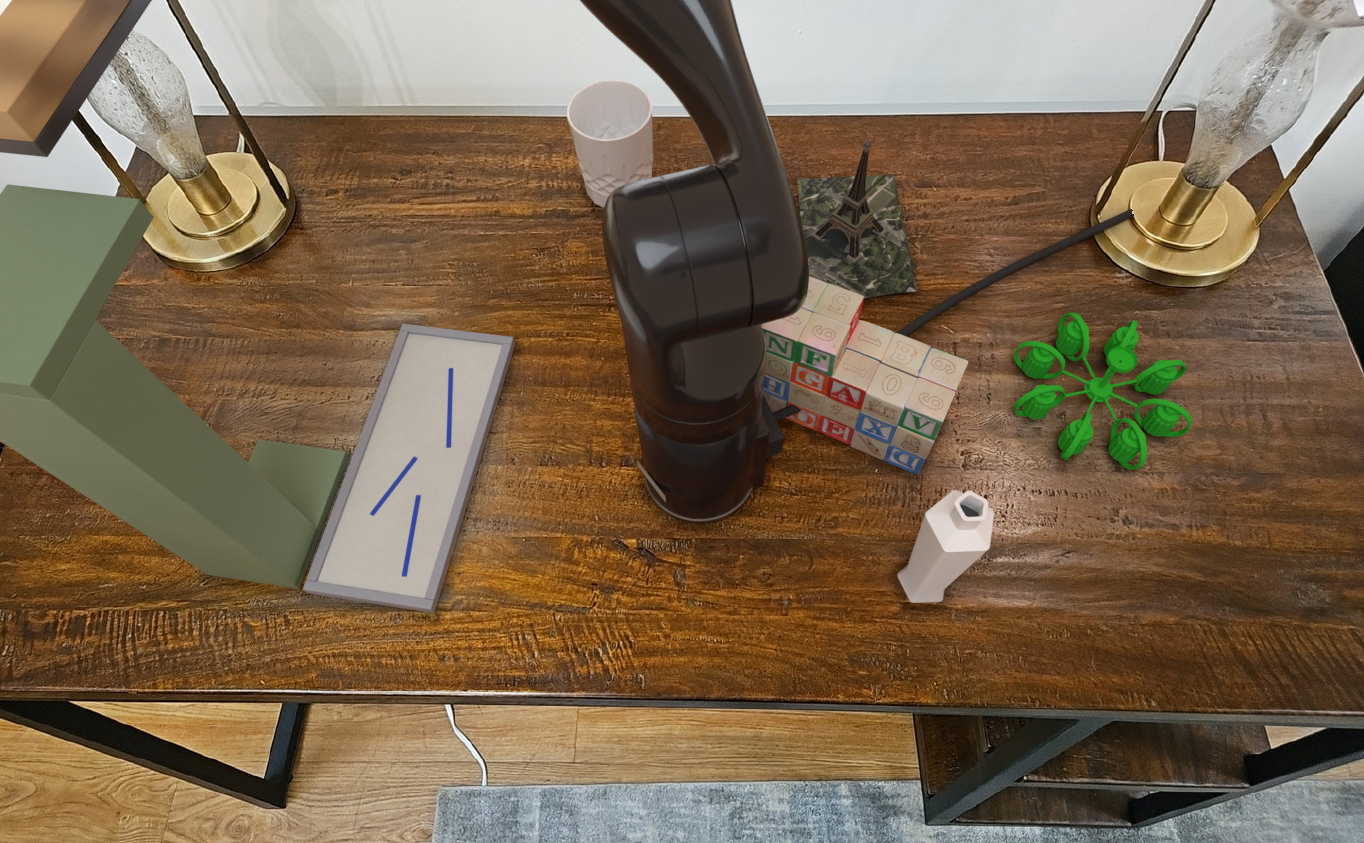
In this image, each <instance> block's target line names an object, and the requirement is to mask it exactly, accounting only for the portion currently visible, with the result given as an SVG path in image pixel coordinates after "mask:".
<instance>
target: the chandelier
mask: <svg viewBox="0 0 1364 843" xmlns="http://www.w3.org/2000/svg"><path fill="white" fill-rule="evenodd" d="M1069 317H1071V318H1072V319H1074V320H1072V321H1070V322H1069V323H1068V324H1067V325H1065V323H1066V321H1067V319H1068V318H1069ZM1138 324H1139V322H1138V321H1136V320H1133V319H1132V320H1129V323H1128V324H1127V325H1126V326H1121V327H1119V328H1118V329H1117V330H1115V331H1114V332H1113V333H1112V334H1111V335H1110V337H1109V338H1108V340H1107V341H1106V343H1105V344H1104V347H1103V353H1104V355H1105V361H1106V363H1105V364H1106V365H1107V366H1108V367H1107V370H1106V371H1105V373H1104V376H1103V377H1096V375H1095V373H1094V371H1093V369H1092V368H1091V365H1090V363H1089V361H1088V359H1087V356H1088V353H1089V350H1090V335H1089V334H1090V328H1089V326H1088V325H1087V324H1086V322H1085V320H1084V319H1083V317H1082V316H1081V315H1079V314H1078V313H1076V312H1067V313H1064V314H1063V315H1062V316H1060V318H1059V321H1058V325H1057V339H1056V341H1055V347H1056V348H1057V349H1056V348H1055V347H1054V346H1052V345H1050V344H1048V343H1045V342H1043V341H1038V340H1026V341H1024V342H1021V343H1019V344H1018V346H1017V347H1016V349H1015V350H1014V353H1013V359H1014V362H1015V364H1016V366H1017V367H1018V368H1019V369H1020V370H1022V371H1023V373H1024V374H1025V375H1026V376H1027V377H1029V378H1030V379H1036V380H1037V379H1042V380H1053V379H1056V378H1058V377H1060V376H1061V375H1062V374H1064V375H1065V376H1068V377H1070V378H1072V379H1075V380H1076V381H1079V382H1081V383H1083V384H1085V385H1084V390H1080V391H1075V392H1070V393H1069V392H1068V393H1066V391H1065V389H1064V387H1063V386H1062V385H1058V384H1051V385H1047V384H1038V385H1036V386H1034V387H1033V388H1032V389H1031V390H1030V391H1029V392H1027V393H1025V394H1024V395H1022V396H1021V397H1019V398H1018V399H1017V400H1016V401H1015V402H1014V404H1013V410H1014V413H1015V415H1016V416H1018V417H1022V418H1023V417H1024V418H1026V417H1027V418H1028V419H1030V420H1041V419H1043V418H1046V416H1048V414H1049V412H1050V411H1051V410H1052V409H1054V408H1056V407H1058V406H1059V405H1060V404H1061V403H1062V402H1063V401H1064V400H1065V399H1066V398H1069V397H1075V396H1079V395H1083V394H1086V395H1087V397H1088V398H1089V399H1091V402H1090V403H1089V405H1088V408H1087V410H1086V412H1084V414H1083V415H1082V417H1081V418H1080V419H1075V420H1073V421H1072V422H1070V423H1068V424H1067V426H1066V427H1064V429H1063V430H1062V432H1060V434H1059V435H1058V436H1057V438H1058V439H1057V445H1058V448H1059V449H1060V450H1061V453H1060V456H1059V458H1060V459H1062V460H1063V461H1068V460H1069V459H1070V458H1071V456H1074V455H1078V454H1081V453H1082V452H1083V450H1084V449H1085V448H1086V447H1087V446H1088V445H1089V443H1091V441H1092V438H1093V435H1094V429H1093V428H1094V427H1093V426H1092V425H1091V421H1092V419H1093V414H1091V411H1092V409H1093V407H1094V405H1095V403H1096V402H1098V403H1105V405H1106V408H1107V410H1108V411H1109V413H1110V415H1111V416H1112V419H1113V421H1114V422H1113V423H1112V424H1111V427H1110V431H1109V439H1110V442H1109V445H1108V453H1109V455H1110V457H1111V458H1113V459H1114V460H1115V461H1117V462H1118V463H1119V464H1120V465H1121V466H1122V468H1124V469H1127V470H1130V471H1133V470H1139V469H1140V468H1142V467H1144V465H1145V464H1146V461H1147V458H1148V446H1147V436H1146V434H1145V433H1144V431H1145V432H1146V433H1147V434H1149V435H1151V436H1153V437H1166V438H1178V437H1182V436H1184V435H1186V434H1187V433H1188V432H1189V431H1190V430H1191V427H1192V424H1193V419H1192V417H1191V414H1190V412H1188V411H1187V409H1185V408H1183V406H1181V405H1179V404H1177V403H1175V402H1173V401H1170V400H1167V399H1162V398H1148V399H1145V400H1142V401H1141V402H1139V403H1138V404H1137V403H1135V402H1133V401H1132V400H1128V399H1126V398H1124V397H1122V396H1120V395H1118V394H1116V393H1113V388H1117V387H1121V386H1127V385H1131V384H1132V387H1133V388H1134V390H1135V391H1136V392H1139V393H1147V394H1149V395H1154V396H1156V395H1160V394H1162V393H1164V392H1165V391H1166V389H1168V387H1169V386H1171V384H1172V383H1174V382H1175V381H1177V380H1179V379H1180V378H1181V377H1183V375H1184V374H1185V373H1186V371H1187V366H1186V364H1185V362H1184V360H1181V359H1171V360H1167V359H1158V360H1156V362H1154V363H1151V364H1150V365H1149V367H1148V368H1146V369H1144V370H1143V371H1141V372H1140V373H1139V374H1138V375H1137V376H1135V378H1134V379H1131V380H1127V381H1123V382H1117V383H1113V384H1112V383H1111V382H1110V380H1111V379H1112V378H1113V376H1114V375H1115V374H1116V373H1120V374H1128V373H1130V372H1132V371H1133V370H1134V369H1135V368H1136V366H1137V365H1138V357H1137V354H1136V353H1135V352H1134V350H1135V349H1136V347H1137V346H1138V342H1139V339H1140V337H1139V333H1138V331H1136V330H1137V328H1138ZM1027 347H1033V348H1031V349H1030V350H1029V352H1028V353H1027V355H1026V356H1025V359H1024V360H1023V361H1022V360H1021V358H1020V356H1019V351H1020V350H1021V349H1023V348H1027ZM1080 351H1081V353H1080V354H1079V356H1078V357H1076V356H1074V355H1076V354H1078V353H1079V352H1080ZM1064 356H1065V358H1067V359H1068V360H1070V361H1072V362H1079V361H1083V362H1084V364H1085V366H1086V368H1087V370H1088V373H1089V374H1090V376H1091V379H1090V380H1085V379H1084V378H1082V377H1079V376H1077V375H1076V374H1073V373H1071V372H1068V371H1067V370H1064V369H1066V359H1065V358H1064ZM1055 358H1056V359H1057V361H1058V362H1059V364H1060V370H1059V371H1056V372H1053V373H1048V372H1049V370H1051V367H1052V366H1053V363H1054V362H1055ZM1177 367H1180V368H1179V369H1177ZM1056 392H1060V394H1059V395H1058V396H1057V395H1056ZM1112 397H1113V398H1115V399H1117V400H1120V401H1121V402H1124V403H1126V404H1128V405H1130V406H1132V407H1135V410H1134V414H1133V415H1134V419H1135V420H1133V419H1131V418H1129V417H1123V418H1118V417H1117V416H1116V414H1115V412H1114V410H1113V408H1112V405H1111V404H1110V403H1109V400H1110V399H1111V398H1112ZM1151 405H1153V407H1152V408H1151V409H1150V410H1149V411H1148V412H1147V414H1145V416H1144V418H1142V416H1141V414H1140V409H1141V408H1143V407H1146V406H1151ZM1021 406H1022V408H1021V409H1022V410H1019V409H1020V407H1021ZM1181 416H1182V417H1183V418H1184V420H1185V421H1186V424H1187V426H1186V427H1185V428H1182V429H1181V430H1174V431H1171V430H1173V429H1174V428H1175V426H1177V424H1178V422H1179V420H1180V418H1181ZM1136 422H1137V423H1136ZM1121 423H1125V424H1127V425H1128V426H1129V427H1126V428H1125V429H1122V430H1120V432H1118V428H1119V426H1120V424H1121ZM1142 428H1143V429H1144V431H1143V430H1142ZM1138 455H1139V459H1138V462H1137V464H1136V465H1132V464H1130V462H1131V461H1132V460H1133V459H1135V458H1136V457H1137V456H1138Z"/></svg>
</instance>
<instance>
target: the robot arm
mask: <svg viewBox="0 0 1364 843" xmlns="http://www.w3.org/2000/svg"><path fill="white" fill-rule="evenodd" d="M579 2H580V3H581V4H582V6H584V8H586V10H587V11H588V12H589V13H590V14H591V15H593V16H594V18H595V19H596V20H598V22H599V23H601V25H603V27H604V28H606V30H608V31H609V32H610V33H611V34H612V35H613V36H614V37H615V38H616V39H618V40H619V41H620V42H621V43H622V44H623V45H624V46H625V47H627V48H628V49H629V51H631V52H632V53H633V54H634V55H636V56H637V57H638V58H639V59H640V61H642V62H643V63H644V64H645V65H646V66H647V67H648V68H649V69H651V71H652V72H653V73H654V74H655V75H657V77H659V79H660V80H662V82H663V83H664V84H665V85H666V86H667V88H668V89H669V90H670V91H671V92H672V94H673V95H674V96H675V98H677V99H678V102H679V103H680V104H681V105H682V107H683V109H684V110H685V111H686V112H687V114H688V116H689V117H690V119H691V120H692V123H693V124H694V125H695V127H696V130H697V131H698V133H699V135H700V137H701V138H702V141H703V143H704V144H705V146H706V149H707V151H708V153H709V155H710V158H711V160H712V163H713V164H708V165H701V166H699V167H694V168H689V169H685V170H681V171H676V172H671V173H666V174H661V175H659V176H652V178H648V179H644V180H639V181H635V182H631V183H627V184H624V185H621V186H619V187H617V188H615V189H614V190H613V191H612V192H611V193H610V195H609V197H608V198H607V201H606V203H605V206H604V208H603V211H602V219H601V232H602V233H601V234H602V245H603V246H602V247H603V253H604V259H605V262H606V267H607V272H608V276H609V280H610V284H611V288H612V292H613V297H614V301H615V303H616V304H615V305H616V308H617V311H618V315H619V319H620V323H621V329H622V334H623V341H624V346H625V354H626V362H627V371H628V377H629V381H630V389H631V395H632V402H633V408H634V413H635V420H636V426H637V432H638V439H639V440H638V441H639V446H640V453H641V458H642V460H641V461H642V464H641V463H640V462H639V460H636V463H637V468H638V469H639V470H640V471H641V473H642V474H643V480H644V484H645V485H644V486H645V487H646V491H647V494H648V495H649V497H650V499H651V500H652V501H653V503H654V504H655V505H656V506H657V507H658V509H660V510H661V511H662V512H663V513H664V514H666V515H667V516H669V517H671V518H673V519H675V520H677V521H680V522H683V523H687V524H695V525H697V524H698V525H707V524H712V523H716V522H720V521H722V520H725V519H727V518H728V517H731V516H732V515H734V514H735V513H736V512H737V511H739V510H740V509H741V508H742V507H743V506H744V505H745V504H746V503H747V501H748V499H749V498H750V496H751V494H752V493H753V491H754V490H756V489H758V488H761V487H763V486H764V484H765V477H766V476H765V475H766V469H767V467H766V466H767V460H768V458H770V457H772V456H775V455H779V454H781V453H783V447H784V441H785V436H784V434H783V432H782V430H781V427H780V426H779V424H778V422H779V421H781V420H784V419H787V418H786V417H788V416H791V415H793V414H795V413H798V412H800V411H801V409H800V408H798V407H797V406H795V405H790V406H787V407H785V408H783V409H780V410H778V411H775V412H773V413H772V411H771V409H770V407H769V405H768V403H767V401H766V399H765V397H764V395H763V386H764V376H765V367H766V355H767V351H766V340H765V336H764V333H763V330H762V328H761V326H760V324H764V323H768V322H772V321H775V320H779V319H783V318H786V317H789V316H791V315H793V314H795V313H796V312H798V311H799V310H800V309H801V307H802V306H803V304H804V302H805V300H806V297H807V293H808V285H809V266H808V256H807V249H806V243H805V238H804V233H803V228H802V222H801V216H800V212H799V209H798V206H797V202H796V200H795V196H794V194H793V189H792V186H791V184H790V181H789V177H788V175H787V172H786V168H785V166H784V163H783V158H782V157H781V153H780V151H779V148H778V144H777V141H776V138H775V136H774V133H773V130H772V127H771V124H770V122H769V118H768V116H767V112H766V110H765V107H764V104H763V101H762V98H761V95H760V92H759V90H758V86H757V83H756V80H755V77H754V74H753V71H752V68H751V65H750V62H749V59H748V56H747V52H746V49H745V46H744V42H743V39H742V36H741V33H740V28H739V25H738V21H737V17H736V13H735V9H734V5H733V2H732V0H579ZM1132 211H1133V210H1132V209H1131V208H1130V209H1127V210H1125V211H1123V212H1121V213H1119V214H1117V215H1115V216H1113V217H1110V218H1108V219H1106V220H1104V221H1101V222H1099V223H1097V224H1095V225H1093V226H1090V227H1088V228H1086V229H1084V230H1082V231H1079V232H1077V233H1075V234H1073V235H1071V236H1069V237H1066V238H1064V239H1062V240H1060V241H1057V242H1055V243H1053V244H1050V245H1049V246H1046V247H1044V248H1042V249H1040V250H1037V251H1035V252H1034V253H1031V254H1029V255H1026V256H1025V257H1023V258H1021V259H1018V260H1017V261H1015V262H1012V263H1011V264H1009V265H1007V266H1005V267H1003V268H1001V269H999V270H997V271H995V272H993V273H991V274H989V275H988V276H985V277H984V278H982V279H980V280H978V281H976V282H974V283H972V284H971V285H969V286H967V287H966V288H964V289H962V290H961V291H959V292H956V293H955V294H953V295H952V296H950V297H949V298H947V299H945V300H944V301H942V302H940V303H939V304H936V306H934V307H932V308H931V309H930V310H928V311H926V312H925V313H923V314H922V315H921V316H919V317H917V318H916V319H914V320H913V321H911V322H910V323H909V324H907V325H906V326H905V327H903V328H902V329H900V330H899V331H897V333H898V334H901V335H903V336H906V337H908V336H910V335H911V334H912V333H914V332H915V331H917V330H918V329H920V328H922V327H923V326H924V325H925V324H927V323H929V322H930V321H932V320H933V319H934V318H937V317H938V316H939V315H941V314H942V313H944V312H946V311H948V310H949V309H951V308H952V307H954V306H956V305H957V304H959V303H960V302H962V301H964V300H965V299H967V298H969V297H971V296H972V295H974V294H976V293H978V292H980V291H981V290H983V289H986V288H987V287H988V286H990V285H993V284H994V283H996V282H999V281H1000V280H1002V279H1004V278H1006V277H1008V276H1010V275H1013V274H1014V273H1016V272H1017V271H1020V270H1022V269H1024V268H1025V267H1028V266H1030V265H1031V264H1034V263H1036V262H1038V261H1040V260H1042V259H1046V258H1047V257H1049V256H1051V255H1054V254H1056V253H1058V252H1060V251H1062V250H1065V249H1066V248H1069V247H1071V246H1072V245H1075V244H1077V243H1080V242H1082V241H1084V240H1086V239H1088V238H1090V237H1092V236H1095V235H1097V234H1099V233H1101V232H1104V231H1106V230H1108V229H1111V228H1112V227H1114V226H1117V225H1119V224H1121V223H1123V222H1125V221H1127V220H1130V219H1132V218H1133V216H1134V214H1132ZM1134 217H1135V216H1134Z"/></svg>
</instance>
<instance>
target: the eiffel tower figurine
mask: <svg viewBox="0 0 1364 843" xmlns="http://www.w3.org/2000/svg"><path fill="white" fill-rule="evenodd" d="M870 135H871V131H869V132H868V137H867V139H866V140H865V141H864V142H862V143H863V144H862V146H861V147H862V151H861V155H860V159H859V162H858V166H857V168H856V172H855V175H854V176H853V175H852V176H831V177H810V178H809V177H808V178H797V179H796V184H797V196H798V197H797V198H798V207H799V217H800V221H801V225H802V229H803V233H804V238H805V243H806V249H807V256H808V266H809V277H813V278H815V279H818V280H821V281H823V282H825V283H827V284H833V285H835V286H838V287H841V288H843V289H846V290H849V291H852V292H854V293H857V294H860V295H862V296H864V299H870V298H874V297H881V296H886V295H893V294H903V293H905V294H906V293H914V292H918V290H919V289H918V285H917V281H916V280H917V279H916V276H915V271H914V267H913V261H912V257H911V251H910V247H909V242H908V238H907V233H906V228H905V224H904V220H903V214H902V210H901V205H900V202H899V200H900V198H899V196H898V191H897V190H898V189H897V186H896V181H895V177H894V176H895V175H894V174H877V175H875V174H873V175H867V173H868V164H869V155H870V148H872V141H870V140H869V139H870Z"/></svg>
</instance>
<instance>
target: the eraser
mask: <svg viewBox="0 0 1364 843" xmlns="http://www.w3.org/2000/svg"><path fill="white" fill-rule="evenodd" d="M152 1H153V0H11V1H10V2H9V3H8V5H7V6H6V7H5V9H4V10H3V11H2V13H1V14H0V153H3V154H13V155H20V156H22V155H23V156H32V157H42V158H48V157H49V156H50V154H51V153H52V151H53V150H54V148H55V147H56V145H57V144H58V142H59V141H60V139H61V138H62V136H63V135H64V133H65V132H66V130H67V129H68V127H69V125H70V124H71V123H72V121H73V120H74V118H75V117H76V115H77V114H78V112H79V111H80V109H81V108H82V106H83V104H84V103H85V102H86V101H87V98H88V97H89V96H90V94H91V93H92V91H93V90H94V88H95V87H96V85H97V84H98V82H99V81H100V79H101V77H102V76H103V75H104V73H105V72H106V70H107V68H108V67H109V65H110V64H111V63H112V62H113V59H114V58H115V57H116V55H117V53H118V52H119V51H120V49H121V48H122V47H123V45H124V43H125V42H126V40H127V38H128V37H129V35H130V34H131V33H132V31H133V29H134V28H135V26H136V25H137V23H138V22H139V21H140V19H141V17H142V16H143V14H144V13H145V11H147V8H148V7H149V5H150V4H151V2H152Z"/></svg>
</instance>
